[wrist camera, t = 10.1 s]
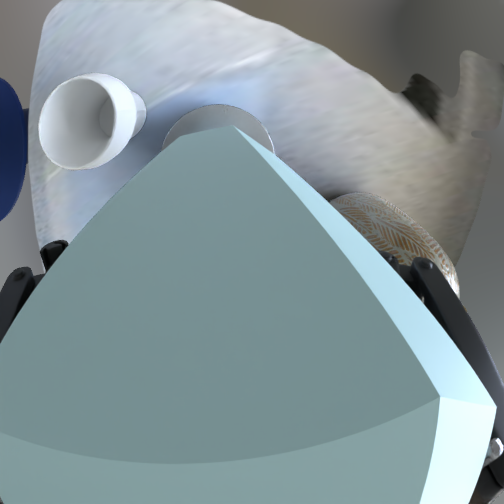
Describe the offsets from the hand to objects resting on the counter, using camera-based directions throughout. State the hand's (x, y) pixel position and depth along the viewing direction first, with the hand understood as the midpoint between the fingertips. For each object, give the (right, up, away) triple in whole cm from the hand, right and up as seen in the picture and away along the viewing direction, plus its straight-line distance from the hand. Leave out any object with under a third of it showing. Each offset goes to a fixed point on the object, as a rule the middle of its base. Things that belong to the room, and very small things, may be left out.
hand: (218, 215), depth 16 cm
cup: (-17, +17, +17) cm, 30 cm away
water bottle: (-1, +3, +6) cm, 7 cm away
